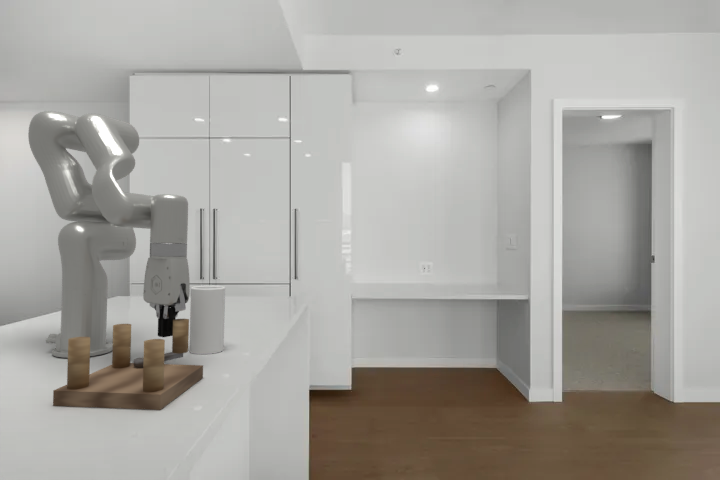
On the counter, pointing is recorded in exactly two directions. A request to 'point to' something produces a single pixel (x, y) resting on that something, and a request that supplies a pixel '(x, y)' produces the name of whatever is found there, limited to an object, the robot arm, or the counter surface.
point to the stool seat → (124, 376)
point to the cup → (207, 319)
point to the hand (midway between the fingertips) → (166, 335)
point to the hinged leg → (174, 342)
